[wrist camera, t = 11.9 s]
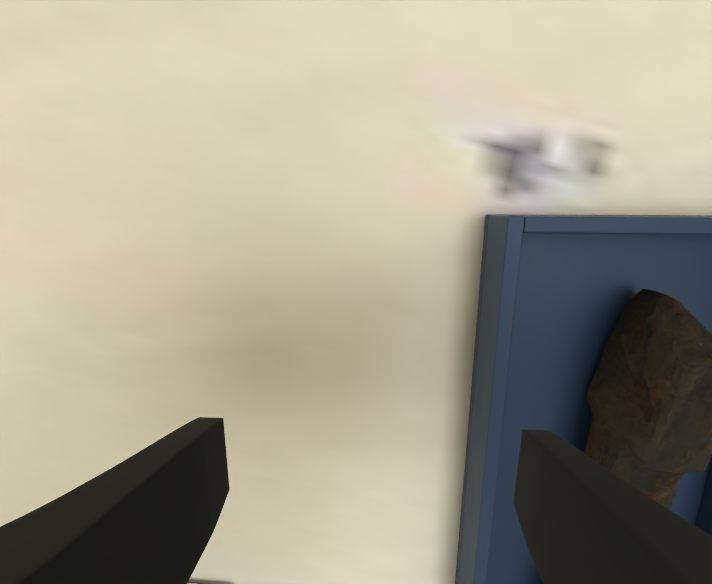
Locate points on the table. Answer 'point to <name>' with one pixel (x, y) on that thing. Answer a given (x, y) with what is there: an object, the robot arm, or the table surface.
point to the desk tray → (561, 355)
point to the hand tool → (653, 397)
